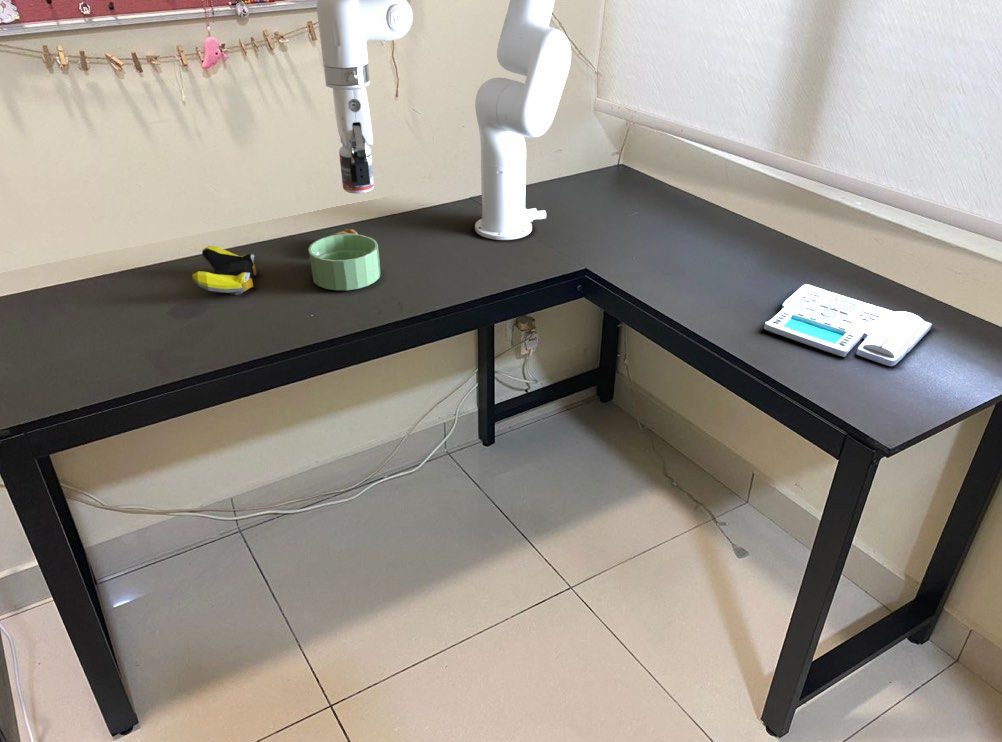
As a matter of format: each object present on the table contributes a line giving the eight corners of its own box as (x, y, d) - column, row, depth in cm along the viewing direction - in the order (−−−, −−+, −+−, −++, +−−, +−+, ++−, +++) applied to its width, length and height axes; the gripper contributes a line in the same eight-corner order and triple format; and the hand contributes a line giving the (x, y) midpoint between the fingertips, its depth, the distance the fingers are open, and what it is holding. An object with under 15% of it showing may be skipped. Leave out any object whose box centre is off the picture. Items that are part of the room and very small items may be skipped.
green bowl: (373, 260, 163) (370, 230, 159) (386, 287, 153) (383, 255, 149) (309, 269, 159) (304, 238, 156) (318, 297, 149) (313, 264, 146)
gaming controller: (195, 303, 147) (251, 300, 148) (188, 276, 144) (245, 272, 145) (208, 269, 159) (259, 266, 160) (202, 243, 156) (254, 240, 157)
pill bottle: (336, 189, 148) (330, 134, 142) (361, 181, 151) (355, 128, 145) (356, 196, 144) (350, 141, 139) (380, 189, 148) (375, 134, 142)
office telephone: (935, 316, 139) (896, 361, 126) (930, 329, 140) (892, 375, 127) (806, 277, 151) (759, 314, 138) (803, 289, 152) (757, 328, 140)
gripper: (378, 84, 131) (387, 192, 141) (359, 63, 144) (368, 163, 154) (332, 88, 129) (345, 197, 139) (317, 66, 142) (330, 167, 152)
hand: (357, 178), depth 146 cm, fingers closed on pill bottle, 5 cm apart
